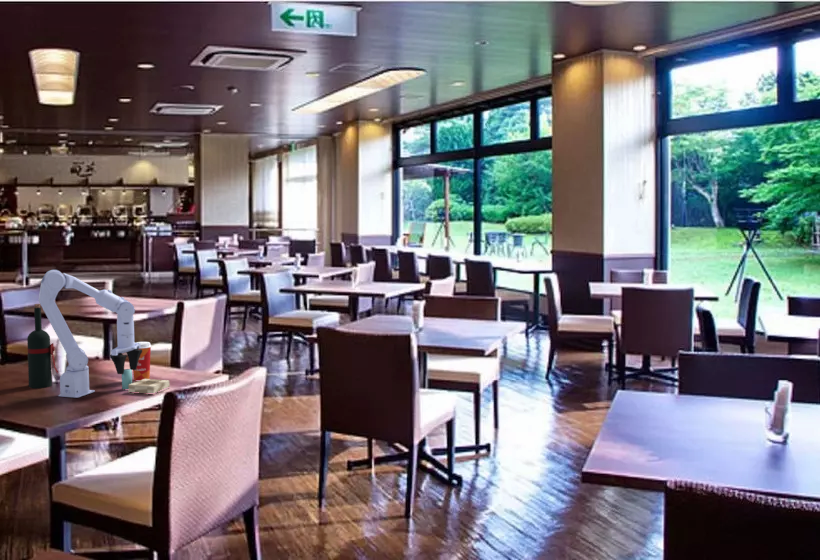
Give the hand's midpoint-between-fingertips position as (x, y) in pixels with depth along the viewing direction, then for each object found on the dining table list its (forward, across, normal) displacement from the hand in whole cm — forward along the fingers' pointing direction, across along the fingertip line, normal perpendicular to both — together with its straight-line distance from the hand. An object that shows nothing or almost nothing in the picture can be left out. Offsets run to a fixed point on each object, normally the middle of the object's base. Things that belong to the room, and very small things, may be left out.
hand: (127, 371), depth 282 cm
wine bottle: (+6, -4, +32) cm, 33 cm away
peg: (+6, 0, 0) cm, 6 cm away
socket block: (+6, 0, -9) cm, 11 cm away
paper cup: (+7, +15, +4) cm, 17 cm away
